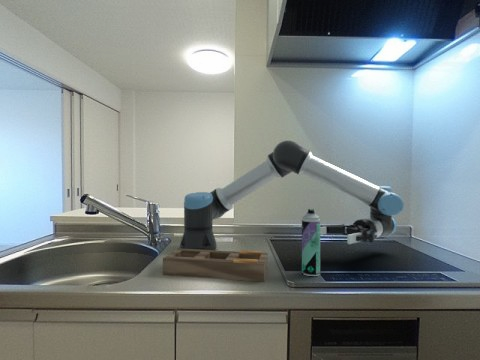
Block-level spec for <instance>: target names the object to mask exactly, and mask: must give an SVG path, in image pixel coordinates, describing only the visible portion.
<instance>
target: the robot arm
mask: <svg viewBox="0 0 480 360" xmlns="http://www.w3.org/2000/svg"><path fill="white" fill-rule="evenodd" d="M291 173H295V174H296V175H300V176H302V175H304V176H307V177H308V178H312V179H313V180H315V181H317V182H319V183H320V184H321V183H322V184H323V185H325V186H328V187H329V188H332V189H333V190H335V191H337V192H339V193H342V194H344V195H346V196H347V197H350V198H352V199H354V200H355V201H358V202H359V203H362V204H364V205H366V206H368V207H370V208H369V210H370V212H369V214H370V216H369V217H366V218H363V219H362V218H361V219H356V220H355V221H354V222H353V223H352V224H344V223H342V224H320V236H326V235H327V234H342V235H343V236H346V237H347V242H346V243H347V245H352V244H357V243H360V242H361V243H362V242H363V243H364V242H367V241H368V242H369V243H374V242H375V239H376V238H383V237H388V236H390V235H392V234H394V233H395V232H396V230H397V227H398V225H397V222H396V220H395V219H394V218H393V216H396V215H399V214H400V213H401V212H402V211H403V209H404V207H405V206H404V204H405V203H404V200H403V198H402V197H401V196H399V194H397V193H395V192H392V191H393V190H392V187H391V186H387V185H386V186H382V185H375V184H374V183H371V182H370V181H367V180H365V179H363V178H361V177H359V176H357V175H355V174H353V173H350V172H348V171H346V170H344V169H342V168H340V167H337V166H336V165H334V164H331V163H330V162H327V161H325V160H323V159H321V158H319V157H317V156H314V155H313V152H312V151H310V150H308V149H306V148H304V147H303V146H302V145H299V144H298V143H297V142H295V141H292V140H282V141H281V142H279V143H278V144H276V146H274V149H273V151H272V152H270V153H269V154H268V155H267V157H266V159H265V161H263V162H262V163H260V164H258V165H257V166H256V167H254V168H252V169H251V170H249V171H248V172H246V173H245V174H243V175H241V176H240V177H238V178H237V179H235V180H234V181H232V182H231V183H230V182H229V184H227V185H226V186H224V187H222V188H221V187H217V188H215V189H213V190H212V191H210V192H208V191H207V192H206V191H199V192H191V193H187V194H186V195H185V196H184V200H183V211H184V212H183V218H184V219H183V221H184V222H183V224H184V225H183V226H184V227H183V228H184V229H183V234H182V237H181V240H180V244H179V249H197V250H215V249H216V248H218V247H217V246H218V245H217V240H216V237H215V234H214V230H213V220H216V219H219V218H221V217H223V215H225V214H226V213H227V212H229V211H231V210H232V208H233V205H234V204H235V203H237V202H239V201H241V200H242V199H244V198H245V197H247V196H249V195H250V194H252V193H253V192H255V191H256V190H258V189H260V188H261V187H263V186H265V185H267V184H268V183H270V182H272V181H273V180H275V179H276V178H279V179H280V178H281V179H282V178H284V177H286V176H287V175H289V174H291ZM216 250H217V249H216Z"/></svg>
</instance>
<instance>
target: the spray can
mask: <svg viewBox="0 0 480 360" xmlns="http://www.w3.org/2000/svg"><path fill="white" fill-rule="evenodd" d="M320 218H321V216H319V215H318V214H317V213H316V212H315V209H314V208H308V209H307V212H306V213H305V214H304V215H303V216H302V219H301V274H302V273H303V274H304V275H307V276H318V277H320V276H321V235H320V225H321V219H320ZM304 275H303V276H304ZM319 275H320V276H319ZM307 276H306V277H307Z"/></svg>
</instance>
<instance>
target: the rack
mask: <svg viewBox="0 0 480 360" xmlns="http://www.w3.org/2000/svg"><path fill="white" fill-rule="evenodd" d="M268 269H269V253H268V252H263V251H262V250H243V249H240V251H235V250H217V249H216V250H197V249H180V248H177V249H176V250H174V251H172V252H171V253H169V254H167V255H165V256H164V257H163V258H162V275H164V276H176V277H178V276H179V277H189V278H190V277H191V278H203V279H205V278H207V279H221V280H233V281H245V282H246V281H247V282H249V281H250V282H262V283H263V282H265V280H266V277H267V273H268Z"/></svg>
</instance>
